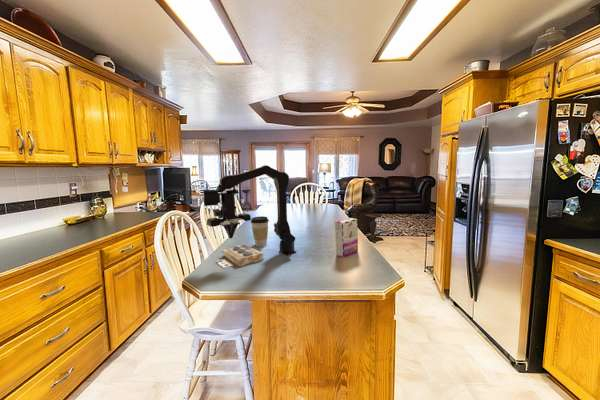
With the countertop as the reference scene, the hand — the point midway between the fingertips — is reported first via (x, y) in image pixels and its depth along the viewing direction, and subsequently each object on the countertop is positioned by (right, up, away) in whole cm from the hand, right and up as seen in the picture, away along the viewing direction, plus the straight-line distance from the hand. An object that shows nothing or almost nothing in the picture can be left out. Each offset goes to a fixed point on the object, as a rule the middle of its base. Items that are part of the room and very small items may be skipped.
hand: (230, 238), depth 123 cm
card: (-3, -11, -1) cm, 12 cm away
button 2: (+7, -9, +2) cm, 12 cm away
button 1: (+1, -8, +10) cm, 13 cm away
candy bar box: (+54, -9, +7) cm, 55 cm away
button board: (+4, -10, +6) cm, 13 cm away
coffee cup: (+10, -8, +26) cm, 29 cm away
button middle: (+4, -8, +6) cm, 11 cm away
